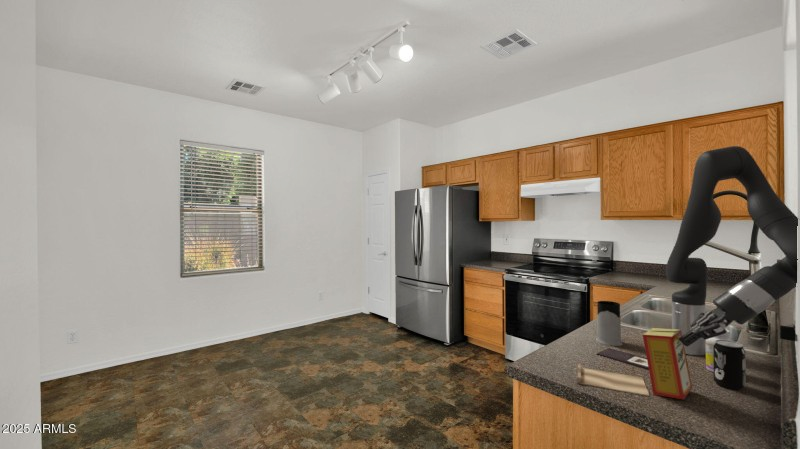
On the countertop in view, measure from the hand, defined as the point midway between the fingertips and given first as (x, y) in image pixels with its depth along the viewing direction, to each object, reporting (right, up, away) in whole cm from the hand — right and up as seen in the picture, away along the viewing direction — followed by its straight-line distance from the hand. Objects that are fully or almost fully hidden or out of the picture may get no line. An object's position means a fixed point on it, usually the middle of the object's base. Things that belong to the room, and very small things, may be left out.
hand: (682, 342), depth 94 cm
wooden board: (-14, -14, +9) cm, 22 cm away
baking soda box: (-2, -14, +1) cm, 14 cm away
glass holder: (+7, -14, +44) cm, 46 cm away
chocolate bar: (+2, -14, +24) cm, 28 cm away
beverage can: (+17, -14, +5) cm, 23 cm away
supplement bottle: (+23, -14, +14) cm, 30 cm away
